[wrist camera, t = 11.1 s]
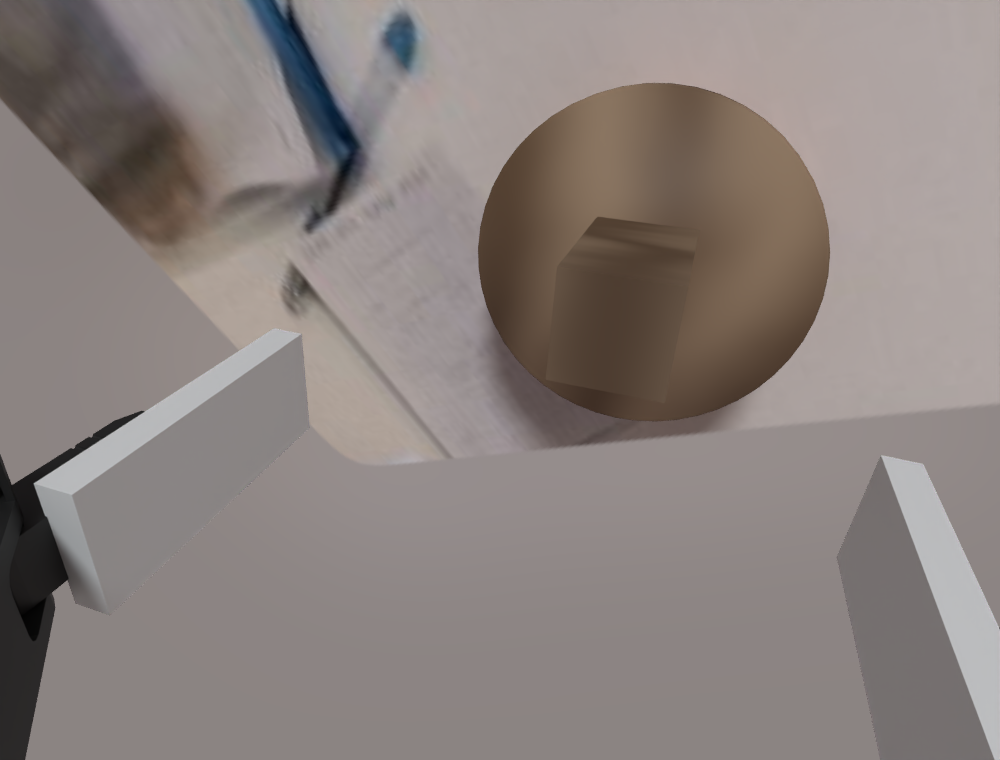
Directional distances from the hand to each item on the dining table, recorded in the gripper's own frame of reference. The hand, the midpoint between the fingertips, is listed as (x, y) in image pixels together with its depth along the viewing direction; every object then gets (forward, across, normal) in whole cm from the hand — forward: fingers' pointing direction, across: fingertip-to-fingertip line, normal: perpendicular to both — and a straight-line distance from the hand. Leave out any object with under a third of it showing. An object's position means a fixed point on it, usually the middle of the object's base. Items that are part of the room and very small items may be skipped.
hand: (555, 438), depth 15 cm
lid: (+15, 0, 0) cm, 15 cm away
